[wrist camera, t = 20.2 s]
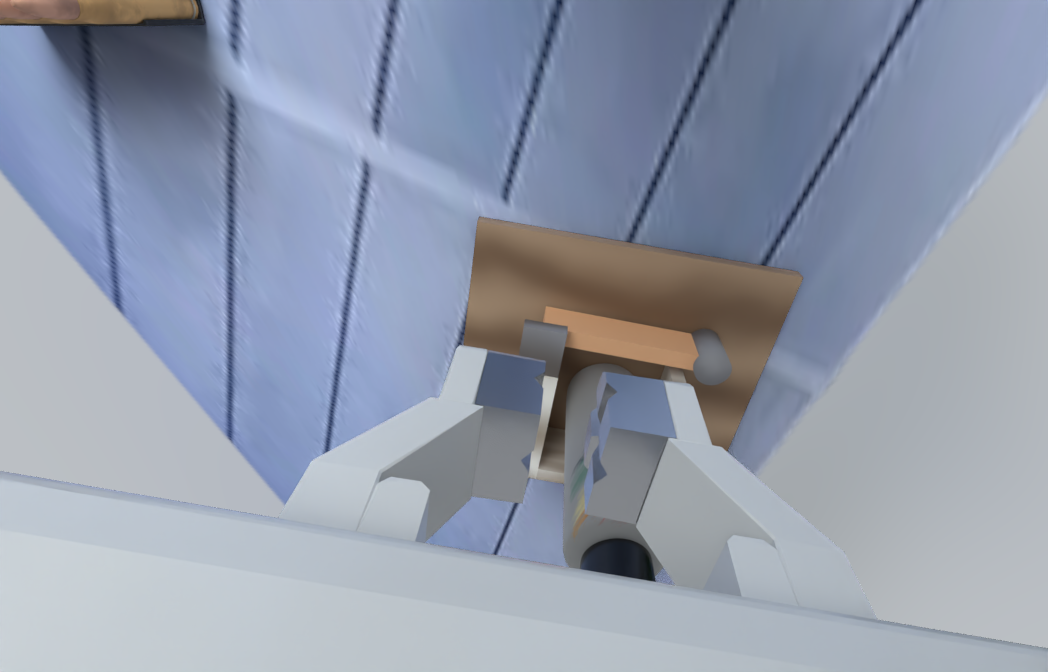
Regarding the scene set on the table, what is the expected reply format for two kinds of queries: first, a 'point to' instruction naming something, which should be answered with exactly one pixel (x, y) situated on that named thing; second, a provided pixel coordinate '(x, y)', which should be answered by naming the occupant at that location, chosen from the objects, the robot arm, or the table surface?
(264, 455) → the table surface
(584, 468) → the lotion bottle
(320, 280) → the table surface
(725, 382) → the cradle
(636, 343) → the arm
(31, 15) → the ammunition clip
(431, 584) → the robot arm
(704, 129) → the table surface
